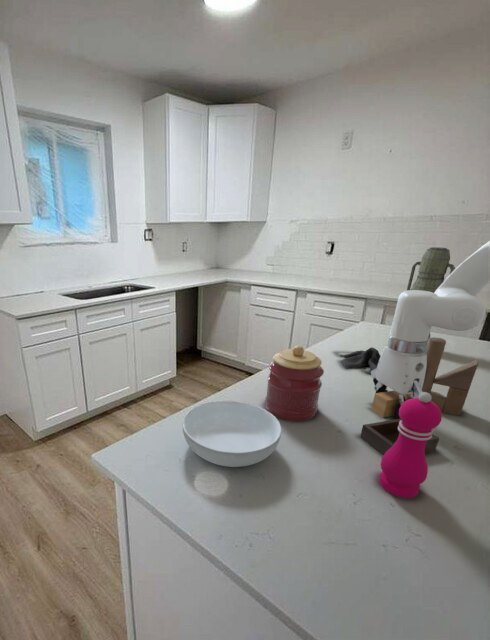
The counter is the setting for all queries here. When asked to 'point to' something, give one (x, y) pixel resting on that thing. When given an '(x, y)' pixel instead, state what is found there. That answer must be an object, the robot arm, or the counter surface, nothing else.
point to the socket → (389, 436)
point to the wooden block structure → (447, 379)
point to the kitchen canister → (294, 384)
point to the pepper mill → (410, 447)
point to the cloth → (362, 359)
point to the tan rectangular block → (386, 403)
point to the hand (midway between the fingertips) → (388, 410)
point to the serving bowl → (231, 432)
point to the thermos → (431, 270)
